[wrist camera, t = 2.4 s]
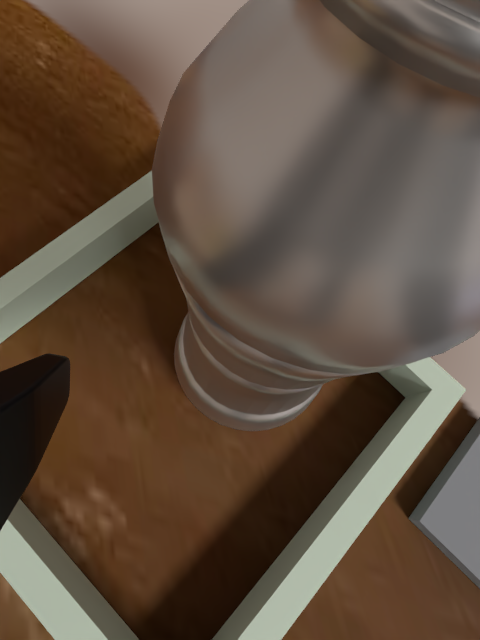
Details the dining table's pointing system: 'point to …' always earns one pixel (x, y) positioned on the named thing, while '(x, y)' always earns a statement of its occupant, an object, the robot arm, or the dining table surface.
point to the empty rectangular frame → (310, 541)
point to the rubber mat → (456, 508)
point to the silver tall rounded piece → (321, 199)
